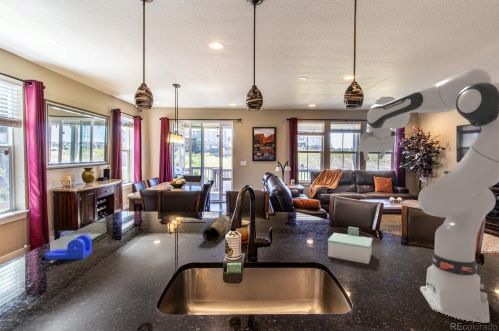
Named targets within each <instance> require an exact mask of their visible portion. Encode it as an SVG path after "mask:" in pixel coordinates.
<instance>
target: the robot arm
mask: <svg viewBox="0 0 499 331" xmlns="http://www.w3.org/2000/svg"><path fill="white" fill-rule="evenodd" d="M454 110H456V111H457V113H458V114H459V115H460V116H461V117H462V118H464V119H465V120H467V121H468V123H469V124H471V126H472V127H476V128H477V127H481V130H480V134H479V135H478V137H476V140H475V141H474V142H473V143H472V145H471V146H470V147H469V149H468V150H467V152H466V153H465V154H464V156H463V157H462V158H461V159H460V161H459V162H458V163H457V164H456V165H455V166H454V167H453V168H452V169H451V170H450V171H449V172H447V173H446V174H444V176H443V177H441V178H439V179H438V180H437V181H435V182H434V183H431V184H430V185H428V186H426V187H424V188H422V189H420V192H419V193H418V196H417V197H418V198H417V203H418V205H419V207H420V209H421V210H422V213H423V212H424V213H425V214H426V215H429V216H433V217H438V218H445V220H444V221H443V223H442V224H441V225H440V226H439V227H438V228H437V229H436V230H435V232H434V252H432V256H431V257H432V258H431V259H432V264H431V265H430V266H429V267H427V270H426V283H425V284H426V285H425V286H424V285H423V286H420V288H419V290H420V292H421V294H422V296H423V297H424V299H425V300H426V301H427V303H428V305H429V306H430V308H431V310H433V311H434V310H435V311H434V312H436V311H437V312H436V313H438V312H440V313H442V314H441V315H443V314H445V315H444V316H446V315H448V316H447V317H449V316H451V317H450V318H452V317H454V318H453V319H456V318H457V320H460V319H461V320H460V321H464V320H466V321H465V322H468V321H473V322H472V323H474V322H481V323H489V322H490V323H491V320H490V319H491V318H490V308H489V300H488V292H487V293H486V292H483V291H481V290H484V288H485V285H484V284H483V283H481V276H480V275H479V274H478V273H477V272H478V270H477V269H478V264H477V259H476V245H477V244H476V243H477V237H478V233H479V231H480V228H481V226H482V223H483V222H484V219H485V218H486V217H487V215H488V214H489V213H490V212H492V210H494V208H495V206H496V201H497V200H496V196H495V194H494V193H493V191H492V190H491V189H489V188H491V187H493V186H495V185H496V184H498V183H499V82H493V81H492V79H491V76H490V74H489V73H488V72H487V71H486V70H483V69H480V68H472V69H468V70H465V71H461V72H459V73H455V74H453V75H451V76H449V77H446V78H444V79H442V80H441V81H438V82H436V83H434V84H431V85H430V86H427V87H425V88H422V89H420V90H417V91H414V92H413V93H410V94H406V95H404V96H402V97H399V98H395V97H392V96H381V97H378V98H377V99H376V100H375V101H374V105H372V106H371V107H370V108H369V109H368V110H367V112H366V116H365V119H366V122H367V124H368V125H369V127H368V128H369V129H368V132H367V131H364V133H362V134H361V137H360V139H359V142H358V145H357V150H358V152H362V154H363V160H364V161H369V160H370V156H369V154H370V152H380V153H379V155H377V159H378V160H384V156H385V154H386V152H387V151H388V152H389V151H392V150H393V148H394V145H395V142H396V136H397V131H395V130H393V129H403V128H405V127H406V126H407V125H409V123H410V122H411V118H412V114H414V113H423V114H425V113H426V114H438V113H439V114H441V113H446V112H450V111H451V112H452V111H454ZM440 313H439V314H440ZM481 323H480V324H481ZM490 323H489V324H490Z"/></svg>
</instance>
